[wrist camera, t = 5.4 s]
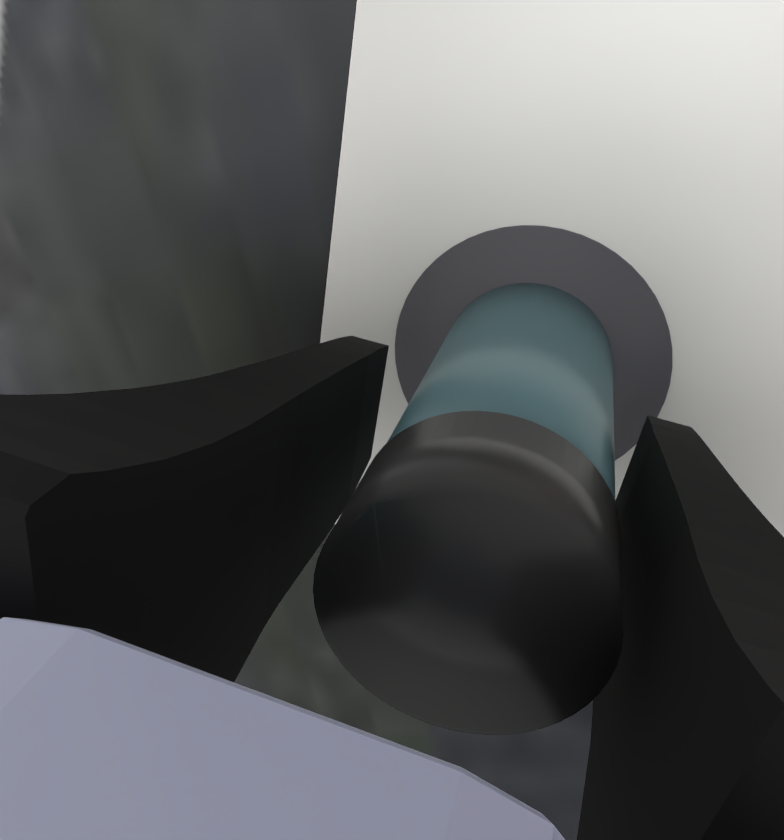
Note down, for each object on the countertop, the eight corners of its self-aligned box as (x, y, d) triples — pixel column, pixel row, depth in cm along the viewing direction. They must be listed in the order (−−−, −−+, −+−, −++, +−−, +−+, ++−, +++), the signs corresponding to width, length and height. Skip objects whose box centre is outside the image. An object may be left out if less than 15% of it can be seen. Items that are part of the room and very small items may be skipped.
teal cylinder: (639, 303, 13) (670, 538, 6) (587, 458, 14) (572, 770, 8) (460, 262, 13) (332, 446, 7) (428, 416, 14) (299, 681, 8)
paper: (1756, 65, 8) (1800, 66, 8) (1082, 753, 14) (1092, 769, 14) (377, -134, 11) (370, -138, 11) (306, 506, 17) (300, 515, 17)
